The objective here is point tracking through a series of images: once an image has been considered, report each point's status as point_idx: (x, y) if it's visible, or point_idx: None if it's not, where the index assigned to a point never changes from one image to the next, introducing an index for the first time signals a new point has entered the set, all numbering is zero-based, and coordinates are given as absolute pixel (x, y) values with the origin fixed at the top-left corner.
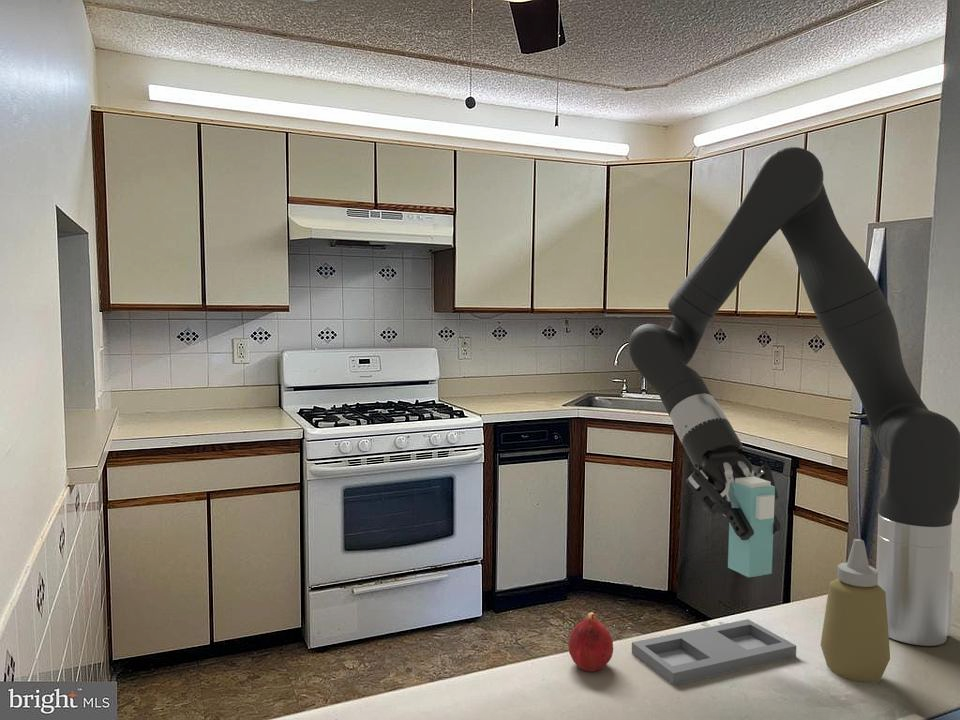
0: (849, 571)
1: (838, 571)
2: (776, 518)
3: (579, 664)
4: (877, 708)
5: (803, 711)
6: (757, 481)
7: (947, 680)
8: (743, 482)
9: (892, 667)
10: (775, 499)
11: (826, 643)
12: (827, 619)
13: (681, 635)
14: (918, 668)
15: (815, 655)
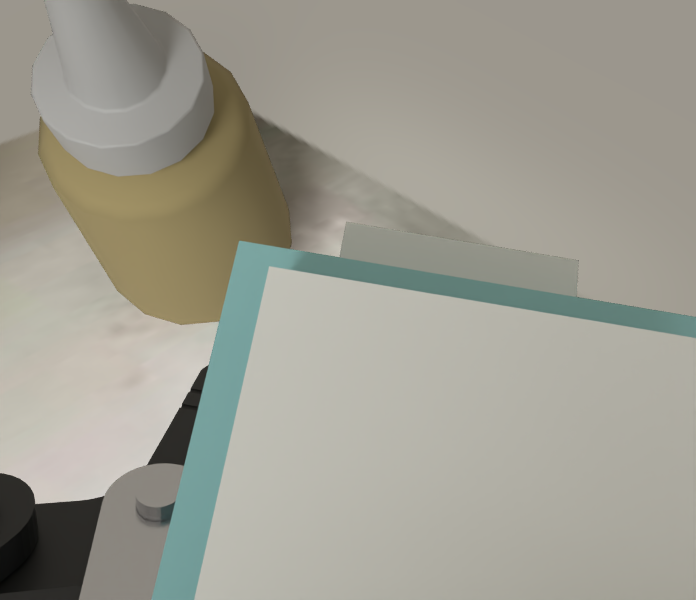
0: (196, 67)
1: (180, 135)
2: (192, 397)
3: None
4: (314, 159)
5: (477, 237)
6: (483, 393)
7: (36, 138)
8: (689, 574)
9: (73, 239)
10: (16, 478)
11: None
12: (255, 242)
13: None
14: (23, 202)
15: (178, 391)
